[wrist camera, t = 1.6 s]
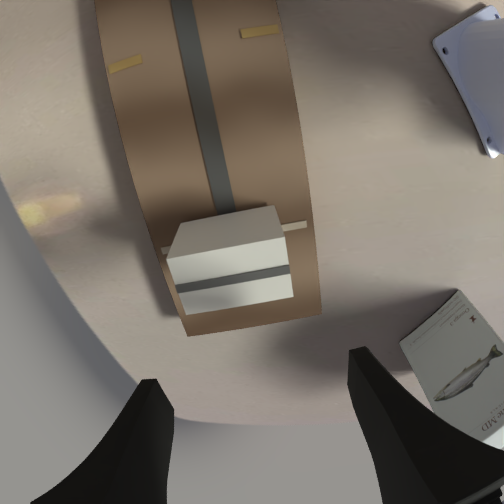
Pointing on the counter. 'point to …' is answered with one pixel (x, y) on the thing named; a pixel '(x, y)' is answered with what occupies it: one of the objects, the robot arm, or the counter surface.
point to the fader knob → (230, 261)
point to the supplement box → (461, 369)
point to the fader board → (212, 132)
